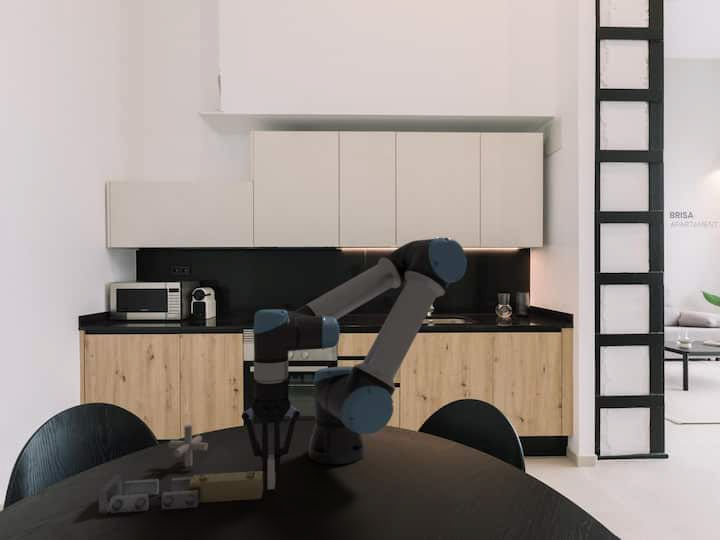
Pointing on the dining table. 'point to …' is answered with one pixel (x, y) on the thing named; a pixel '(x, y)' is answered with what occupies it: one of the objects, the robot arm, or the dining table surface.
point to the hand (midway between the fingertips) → (271, 486)
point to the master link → (228, 486)
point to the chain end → (180, 495)
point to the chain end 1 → (127, 495)
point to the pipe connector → (188, 445)
